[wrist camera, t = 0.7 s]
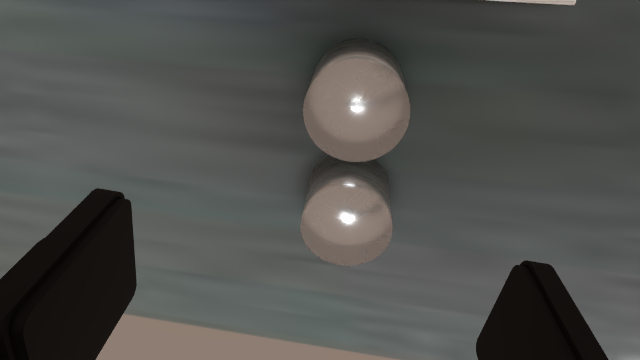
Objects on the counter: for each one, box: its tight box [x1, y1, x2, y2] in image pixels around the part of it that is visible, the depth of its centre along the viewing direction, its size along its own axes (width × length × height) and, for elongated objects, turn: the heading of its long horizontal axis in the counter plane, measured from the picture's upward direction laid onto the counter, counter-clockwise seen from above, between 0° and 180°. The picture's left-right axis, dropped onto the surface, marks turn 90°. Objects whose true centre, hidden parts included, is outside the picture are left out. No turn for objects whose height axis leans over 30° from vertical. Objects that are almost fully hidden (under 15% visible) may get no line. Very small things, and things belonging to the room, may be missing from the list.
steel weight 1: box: [303, 39, 410, 162], centre depth 27 cm, size 6×6×6 cm
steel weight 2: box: [301, 156, 393, 266], centre depth 31 cm, size 6×6×6 cm
